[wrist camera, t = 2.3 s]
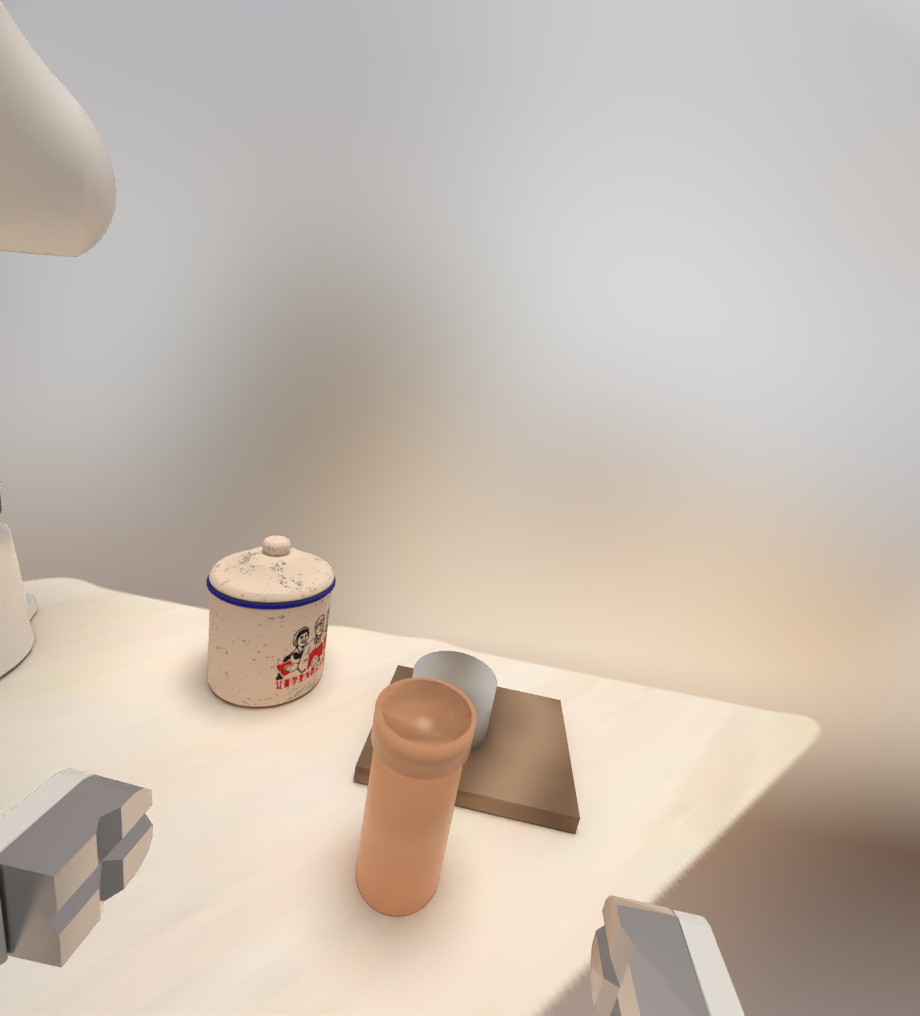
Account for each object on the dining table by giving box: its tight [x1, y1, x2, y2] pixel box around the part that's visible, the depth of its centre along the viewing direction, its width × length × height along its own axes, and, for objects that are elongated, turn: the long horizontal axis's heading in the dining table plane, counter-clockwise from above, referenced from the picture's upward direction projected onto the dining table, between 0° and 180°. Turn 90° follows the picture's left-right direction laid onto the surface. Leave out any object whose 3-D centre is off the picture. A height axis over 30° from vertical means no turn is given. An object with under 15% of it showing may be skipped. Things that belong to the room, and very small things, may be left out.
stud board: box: [354, 651, 580, 833], centre depth 33 cm, size 14×11×5 cm
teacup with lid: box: [207, 536, 335, 707], centre depth 37 cm, size 12×9×12 cm
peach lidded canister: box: [356, 677, 477, 916], centre depth 23 cm, size 5×5×10 cm
